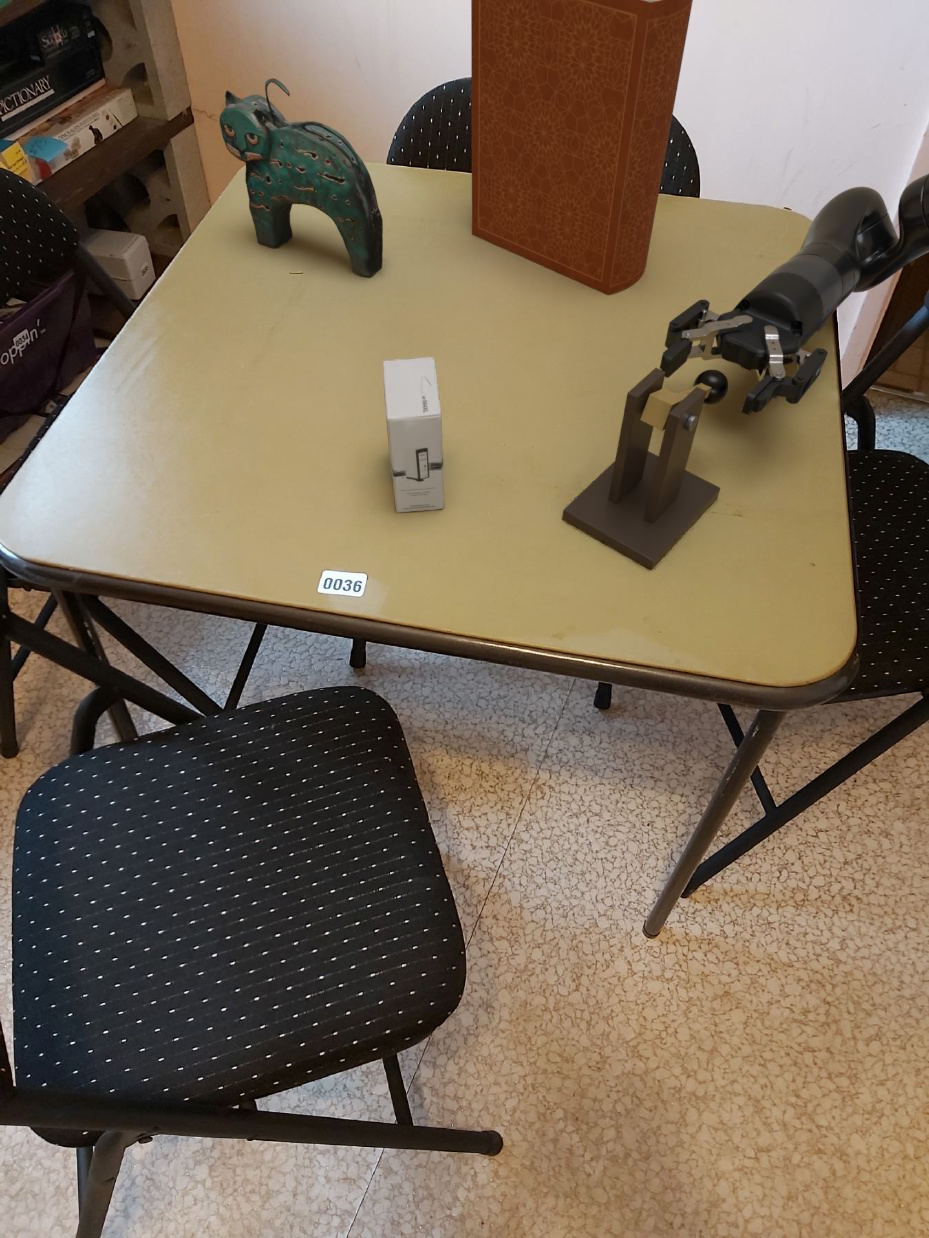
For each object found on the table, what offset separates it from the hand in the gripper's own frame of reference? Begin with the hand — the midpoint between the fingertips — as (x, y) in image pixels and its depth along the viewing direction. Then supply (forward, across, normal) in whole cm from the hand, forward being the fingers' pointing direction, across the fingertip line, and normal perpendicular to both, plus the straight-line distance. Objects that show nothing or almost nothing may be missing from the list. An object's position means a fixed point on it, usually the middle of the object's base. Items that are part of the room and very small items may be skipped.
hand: (705, 387), depth 77 cm
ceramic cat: (-4, -57, +10) cm, 58 cm away
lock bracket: (+8, 0, +10) cm, 12 cm away
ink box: (+19, -19, +10) cm, 29 cm away
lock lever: (+4, 0, +1) cm, 4 cm away
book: (-24, -33, +10) cm, 42 cm away
